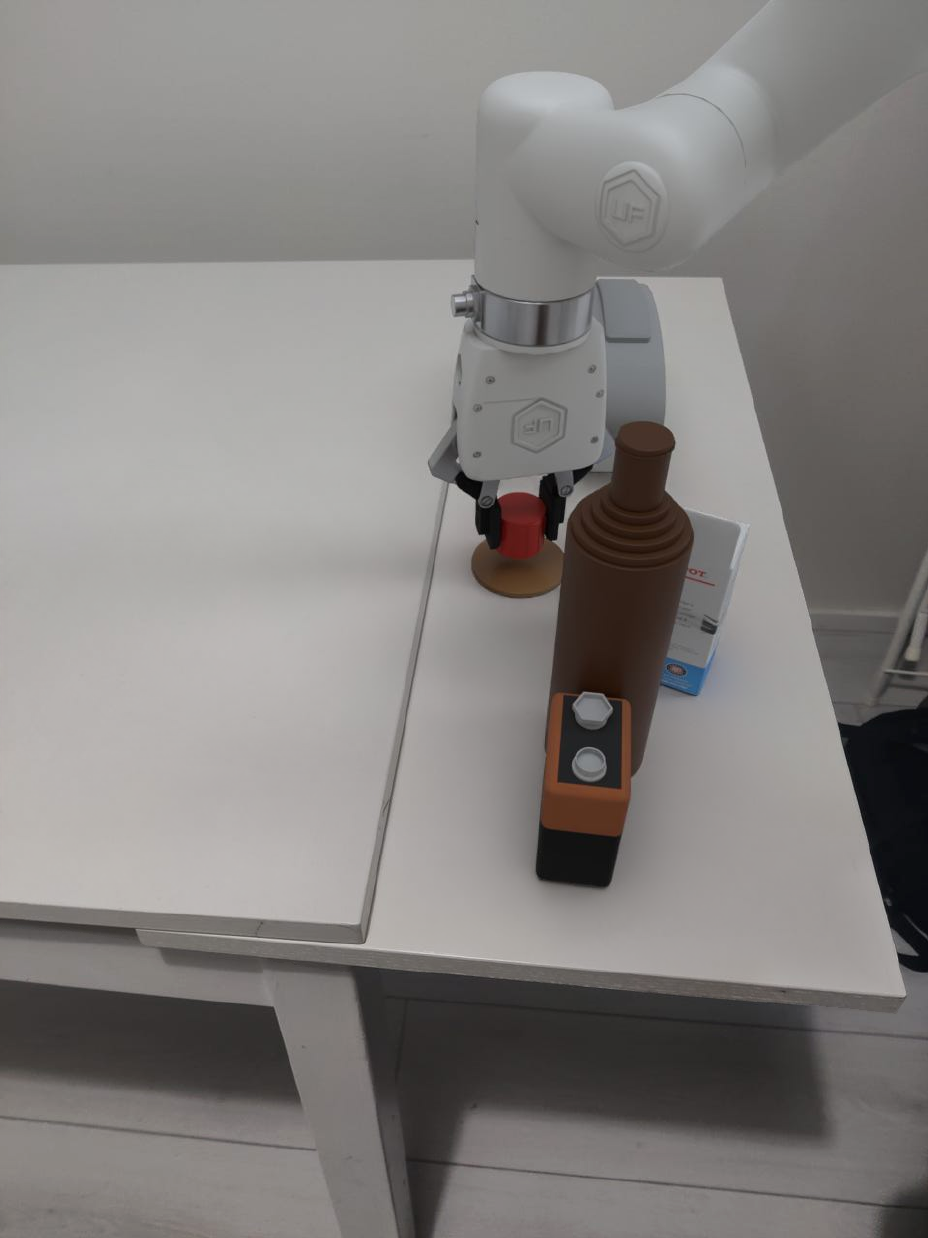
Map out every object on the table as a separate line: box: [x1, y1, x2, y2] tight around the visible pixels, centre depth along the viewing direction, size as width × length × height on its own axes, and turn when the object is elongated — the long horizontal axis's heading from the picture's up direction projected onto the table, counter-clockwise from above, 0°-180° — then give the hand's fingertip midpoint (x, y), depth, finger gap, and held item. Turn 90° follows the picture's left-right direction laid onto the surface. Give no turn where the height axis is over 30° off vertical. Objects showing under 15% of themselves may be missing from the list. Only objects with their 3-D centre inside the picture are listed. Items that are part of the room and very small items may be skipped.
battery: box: [535, 692, 632, 888], centre depth 49 cm, size 4×7×10 cm, turn 172°
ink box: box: [660, 505, 750, 696], centre depth 58 cm, size 8×5×15 cm, turn 63°
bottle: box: [543, 421, 694, 778], centre depth 49 cm, size 6×6×24 cm
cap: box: [495, 491, 546, 559], centre depth 67 cm, size 4×4×4 cm
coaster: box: [470, 536, 564, 599], centre depth 70 cm, size 8×8×1 cm
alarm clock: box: [589, 278, 667, 473], centre depth 81 cm, size 23×6×13 cm, turn 178°
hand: (518, 532), depth 67 cm, fingers closed on cap, 3 cm apart
